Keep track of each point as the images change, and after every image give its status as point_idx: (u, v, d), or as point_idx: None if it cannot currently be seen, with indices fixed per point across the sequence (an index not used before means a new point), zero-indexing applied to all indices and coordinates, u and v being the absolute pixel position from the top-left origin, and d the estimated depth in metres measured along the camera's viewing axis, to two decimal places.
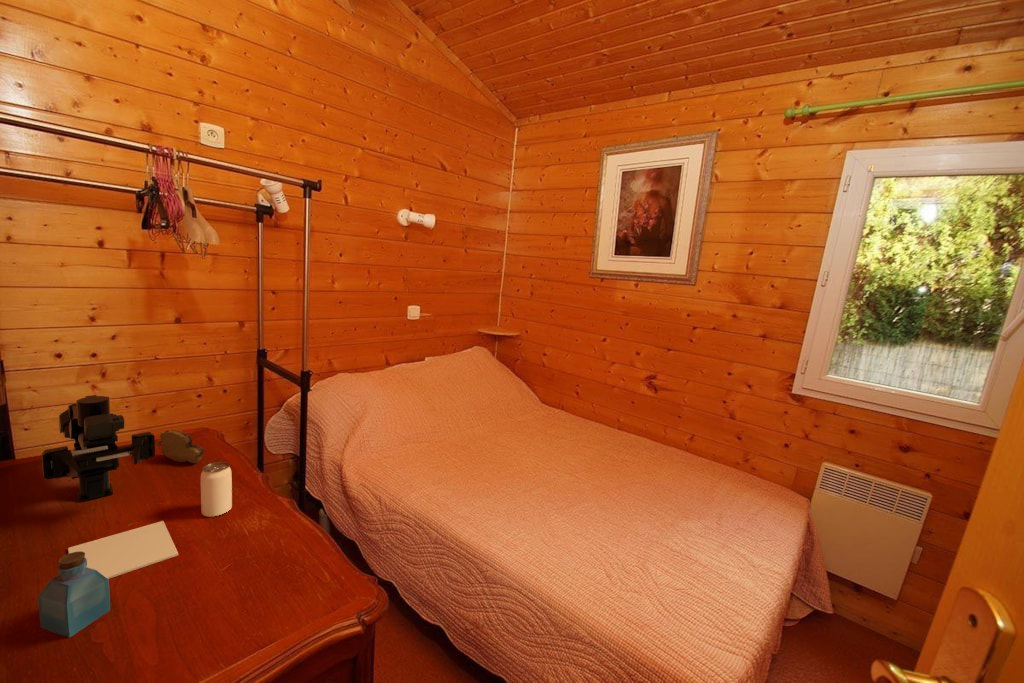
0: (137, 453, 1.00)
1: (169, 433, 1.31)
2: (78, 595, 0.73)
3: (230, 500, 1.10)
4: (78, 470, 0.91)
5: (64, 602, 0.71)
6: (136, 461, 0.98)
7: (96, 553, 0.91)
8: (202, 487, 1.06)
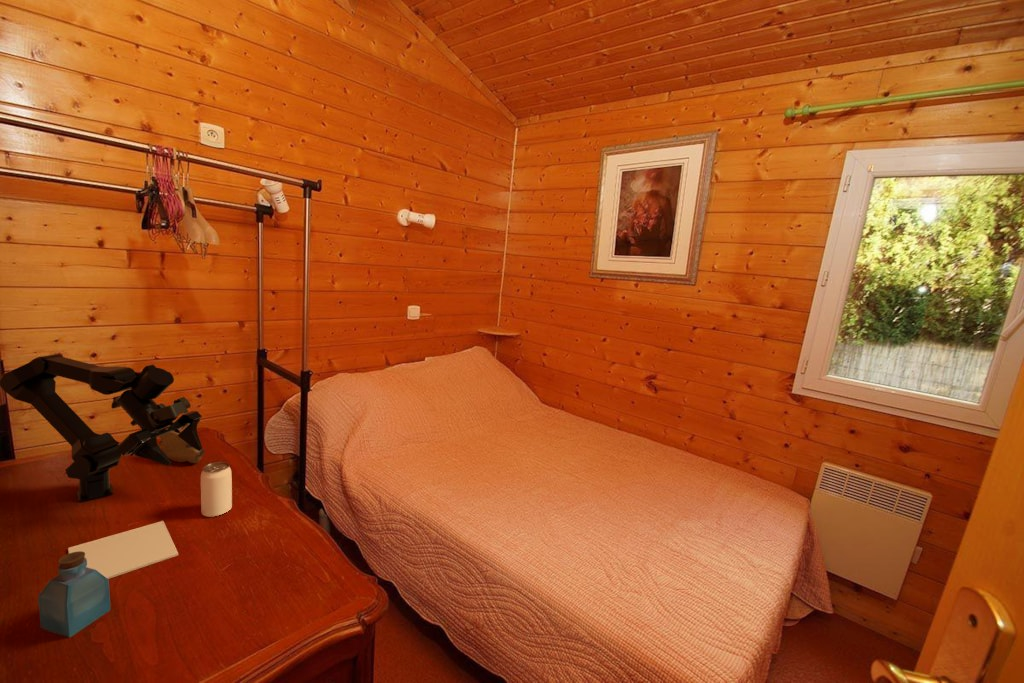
0: (198, 439, 1.14)
1: (169, 433, 1.31)
2: (78, 595, 0.73)
3: (230, 500, 1.10)
4: (169, 461, 1.04)
5: (64, 602, 0.71)
6: None
7: (96, 553, 0.91)
8: (202, 487, 1.06)
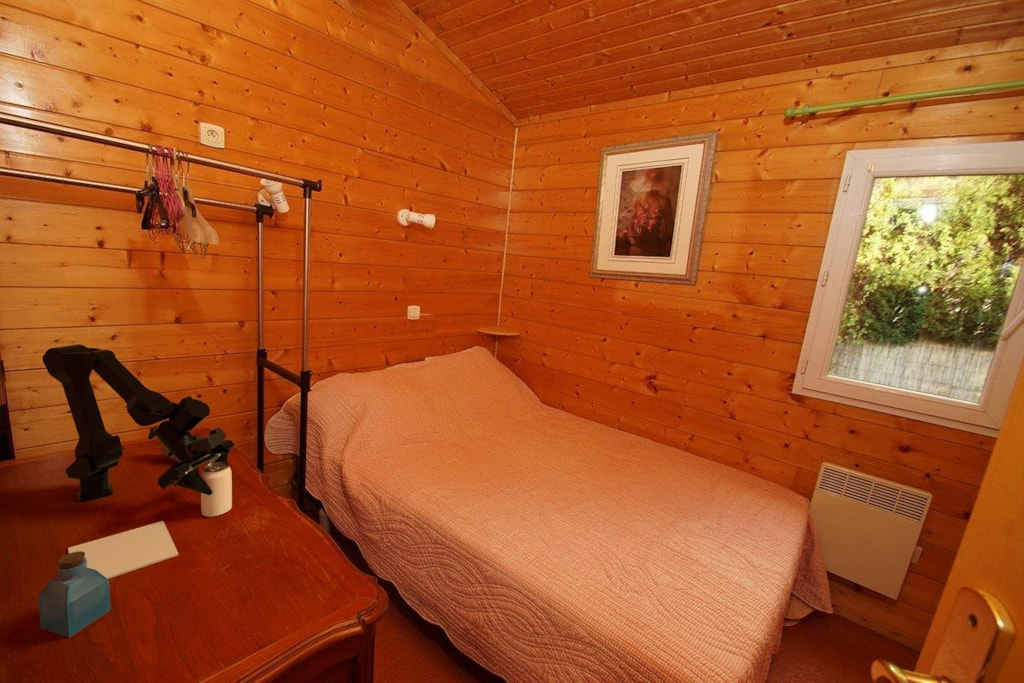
0: None
1: None
2: (78, 595, 0.73)
3: (230, 500, 1.10)
4: (211, 491, 1.06)
5: (64, 602, 0.71)
6: None
7: (96, 553, 0.91)
8: None
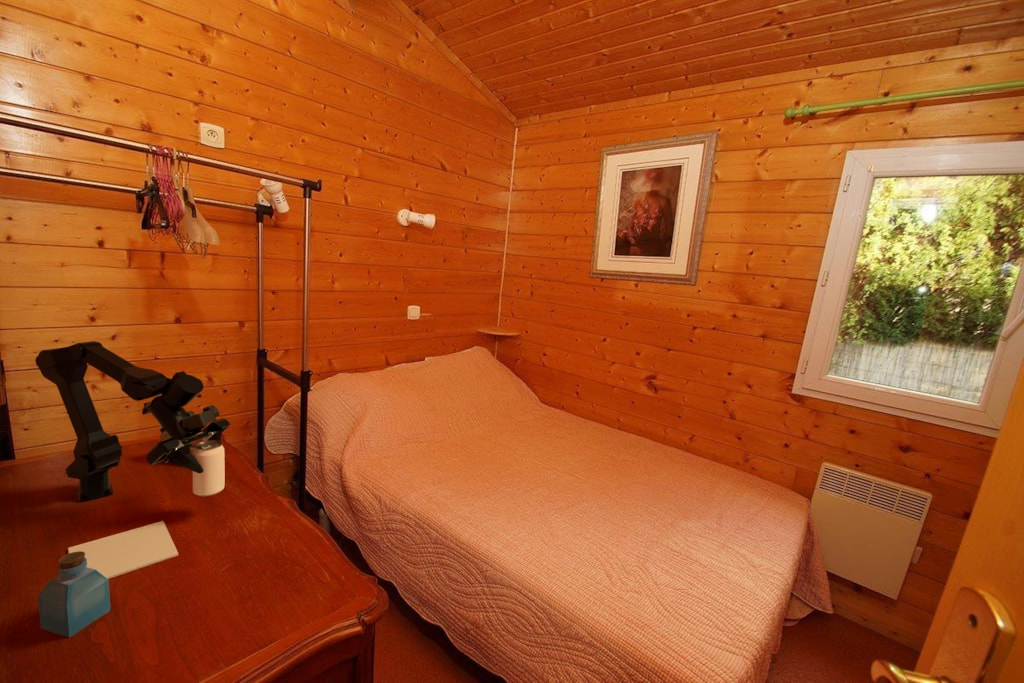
0: None
1: None
2: (78, 595, 0.73)
3: (222, 480, 1.07)
4: (201, 469, 1.03)
5: (64, 602, 0.71)
6: None
7: (96, 553, 0.91)
8: None
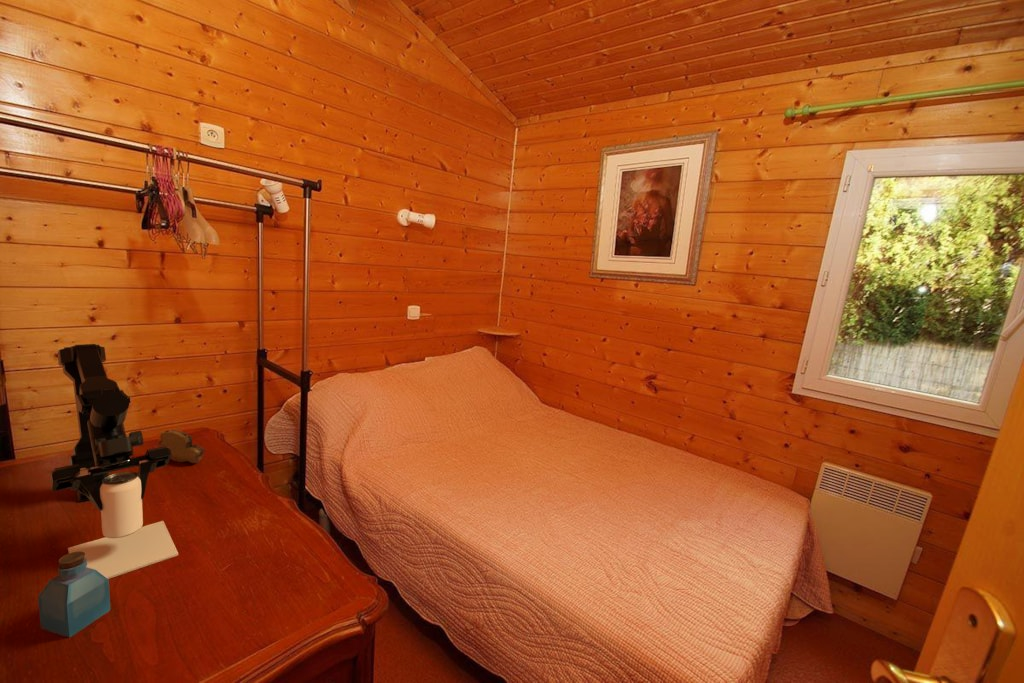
0: (144, 485, 0.94)
1: (169, 433, 1.31)
2: (78, 595, 0.73)
3: (130, 522, 0.91)
4: (100, 506, 0.88)
5: (64, 602, 0.71)
6: (142, 497, 0.93)
7: (96, 553, 0.91)
8: None
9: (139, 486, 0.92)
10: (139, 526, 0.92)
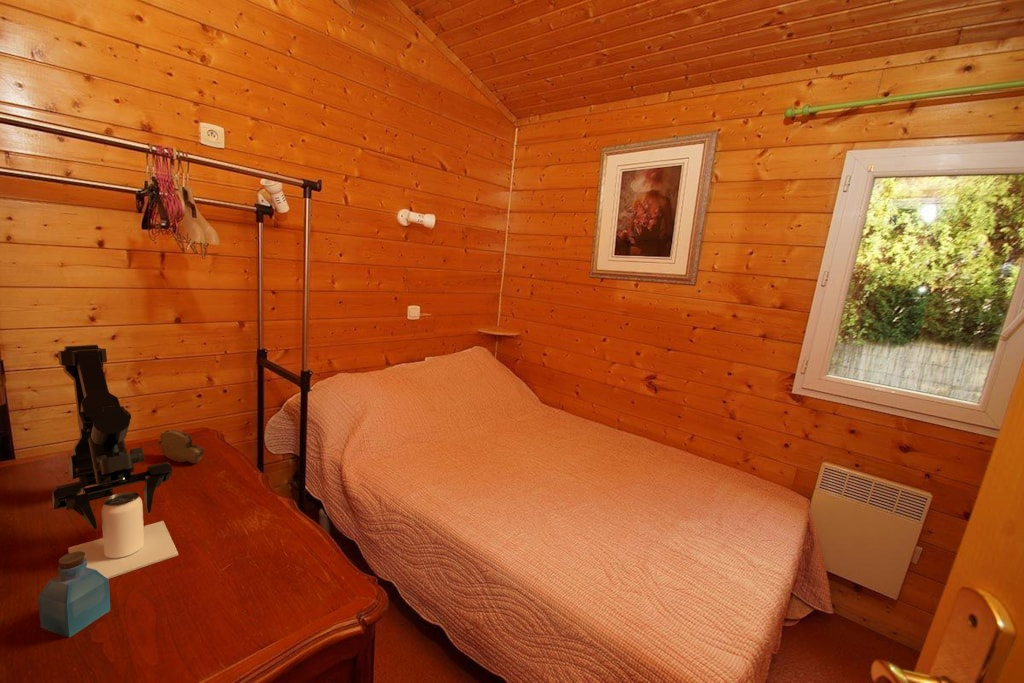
0: (151, 500, 0.95)
1: (169, 433, 1.31)
2: (78, 595, 0.73)
3: (132, 542, 0.91)
4: (95, 525, 0.87)
5: (64, 602, 0.71)
6: (149, 512, 0.94)
7: (96, 553, 0.91)
8: None
9: (140, 506, 0.92)
10: (140, 546, 0.93)
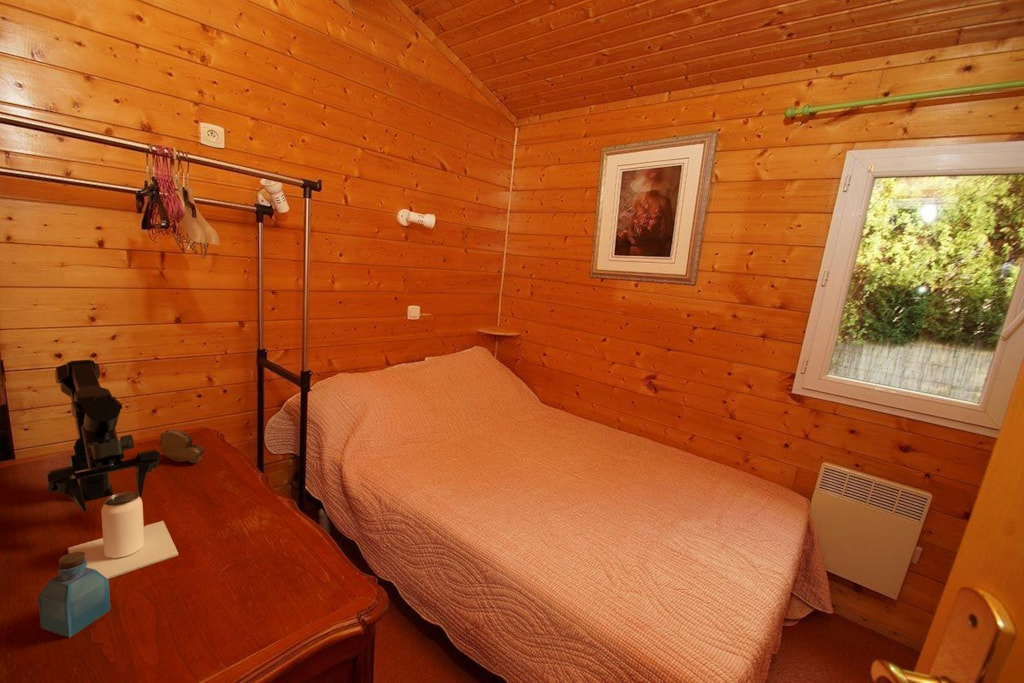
0: (142, 484, 1.01)
1: (169, 433, 1.31)
2: (78, 595, 0.73)
3: (132, 542, 0.91)
4: (84, 508, 0.93)
5: (64, 602, 0.71)
6: (140, 496, 1.00)
7: (96, 553, 0.91)
8: None
9: (140, 506, 0.92)
10: (140, 546, 0.93)
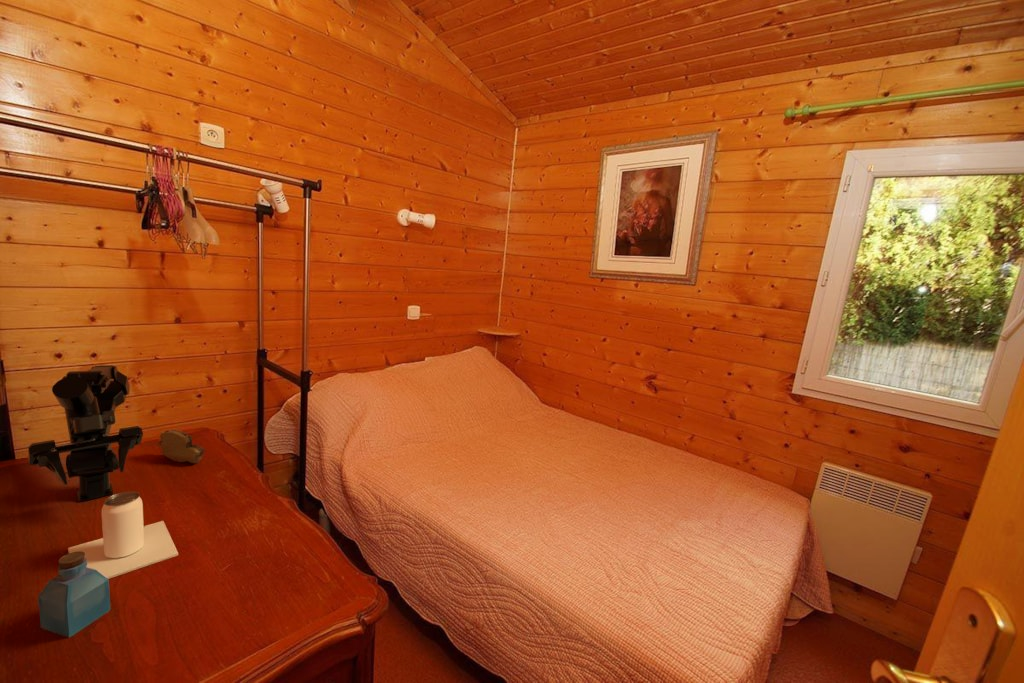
0: (124, 459, 1.02)
1: (169, 433, 1.31)
2: (78, 595, 0.73)
3: (132, 542, 0.91)
4: (65, 480, 0.94)
5: (64, 602, 0.71)
6: (122, 470, 1.01)
7: (96, 553, 0.91)
8: None
9: (140, 506, 0.92)
10: (140, 546, 0.93)
